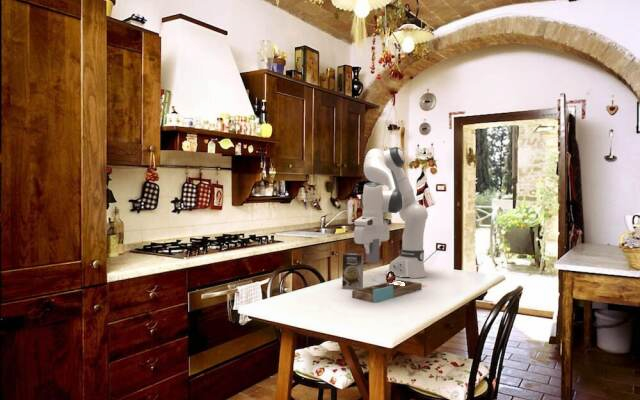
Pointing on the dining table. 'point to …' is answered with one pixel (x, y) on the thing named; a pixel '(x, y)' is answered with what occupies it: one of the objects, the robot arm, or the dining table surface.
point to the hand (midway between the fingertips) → (372, 252)
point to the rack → (385, 291)
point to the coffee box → (352, 271)
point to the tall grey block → (373, 252)
